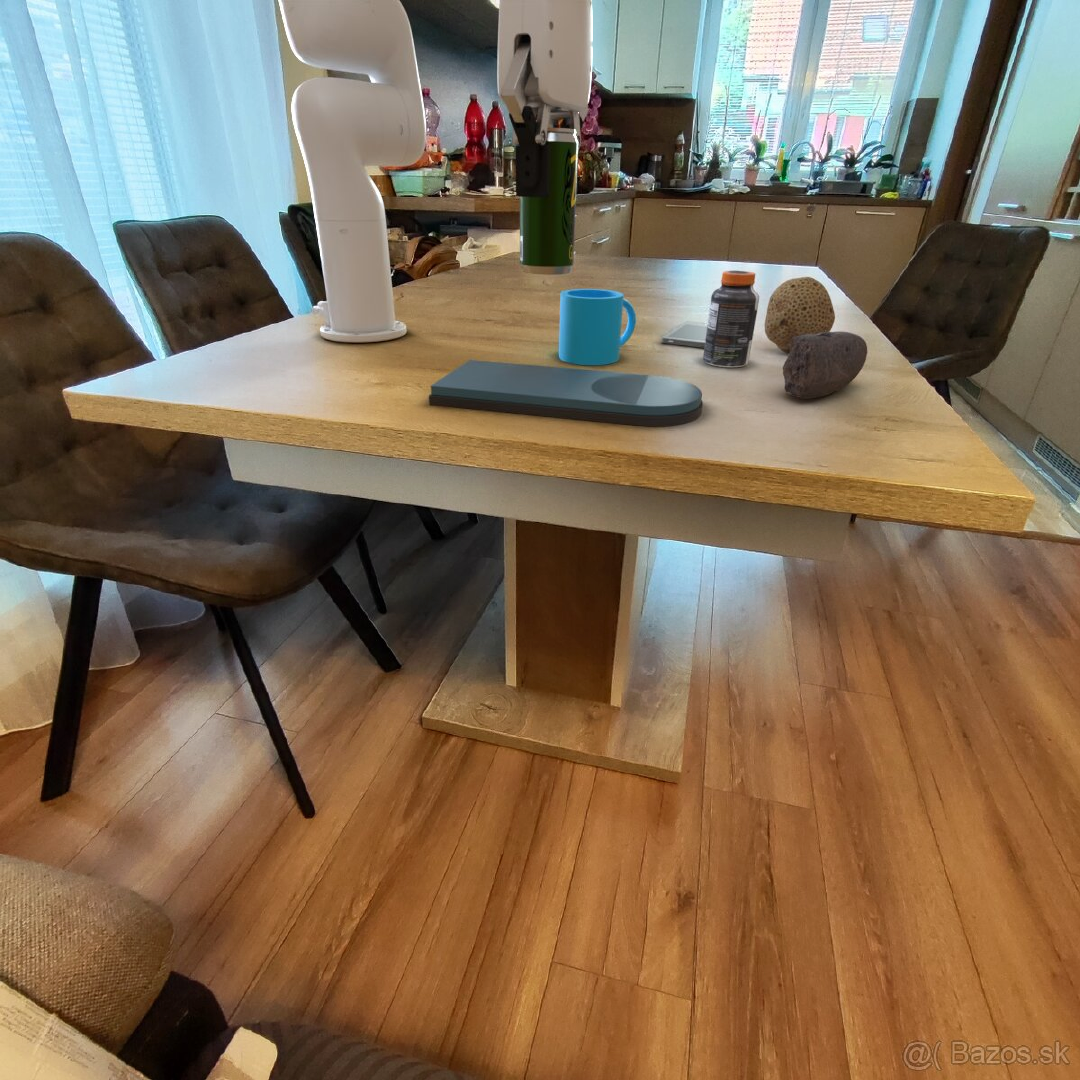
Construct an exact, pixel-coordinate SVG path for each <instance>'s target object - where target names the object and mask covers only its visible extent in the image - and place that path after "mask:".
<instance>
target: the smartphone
mask: <svg viewBox="0 0 1080 1080" xmlns="http://www.w3.org/2000/svg"><path fill="white" fill-rule="evenodd" d="M707 325H708V322H702V321H694V320H693V321H692V320H686V321H685V322H683V323H682V324H680V325H678V326H676V327H675V328H674V329H672V330H671V331H669V332H668V333H666V334H665V335H663V336H662V338H661V343H663V344H669V345H670V344H671V345H680V346H687V347H695V348H704V347H705V339H706V332H707Z"/></svg>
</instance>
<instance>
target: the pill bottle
mask: <svg viewBox="0 0 1080 1080" xmlns="http://www.w3.org/2000/svg"><path fill="white" fill-rule="evenodd" d="M755 281H756V272H753V271H746V270H724V271H722V275H721V280H720V283H721V286H720V287H719V288H716V289H715V290H714V291H713V292H712V293H711V297H710V304H709V311H708V316H707V317H708V318H707V323H708V325H707V332H706V339H705V347H703V355H702V361H703V362H705V363H706V364H708V365H710V366H714V367H720V368H741V367H744V366H747V365H748V364H749V361H750V355H751V349H752V344H753V338H754V332H755V327H756V321H757V315H758V310H759V309H758V308H759V303H760V294H759V293H758V291H756V290H755V289H754V285H755Z"/></svg>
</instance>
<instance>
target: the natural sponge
mask: <svg viewBox="0 0 1080 1080" xmlns="http://www.w3.org/2000/svg"><path fill="white" fill-rule="evenodd" d="M835 313H836V312H835V309H834V306H833V302H832V299H831V296H830V294H829V291H828V290H827V288H826V287H825V286H824V284H823V283H821V282H820V281H818V280H817V279H815V278H813V277H811V276H801V277H796V278H790V279H787V280H786V281H784V282H782V283H781V284H780V285H779V286H777V288H775V290H773V292H772V294H771V295H770V297H769V300H768V304H767V309H766V315H765V318H764V333H765V336H766V337H767V339H768V340H769V341H770V342H772V343H773V344H774V345H775V346H776V347H777V348H778V349H779V350H780V351H781V352H785V353H790V351H791V343H792V339H793V338H794V337H798V336H802V335H807V334H813V335H815V334H817V333H821V332H831V331H832V329H833V326H834V323H835V320H836V314H835Z"/></svg>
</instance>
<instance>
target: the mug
mask: <svg viewBox="0 0 1080 1080" xmlns="http://www.w3.org/2000/svg"><path fill="white" fill-rule="evenodd" d="M559 295H560V298H559V300H560V301H559V330H558V331H559V332H558V358H559V360H561V361H563V362H565V363H568V364H574V365H581V366H604V365H610V364H614V363H616V362H618V361H619V359H620V348H621V347H622V346H624V345H626V343H627V342H628V341H629V340H630V338H631V337H632V336H633V333H634V331H635V328H636V323H637V317H636V312H635V309H634V306H633V305H632V304H631V303H630V301H628V300H627V299H625V298H624V296H625V295H624V293H623V292H621V291H617V290H610V289H600V288H574V289H566V290H562V291H561V292H560V294H559ZM623 308H624V309H625V311H626V313H627V324H626V328H625V330H624V332H623V334H622V335H621V333H622V322H623Z"/></svg>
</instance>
